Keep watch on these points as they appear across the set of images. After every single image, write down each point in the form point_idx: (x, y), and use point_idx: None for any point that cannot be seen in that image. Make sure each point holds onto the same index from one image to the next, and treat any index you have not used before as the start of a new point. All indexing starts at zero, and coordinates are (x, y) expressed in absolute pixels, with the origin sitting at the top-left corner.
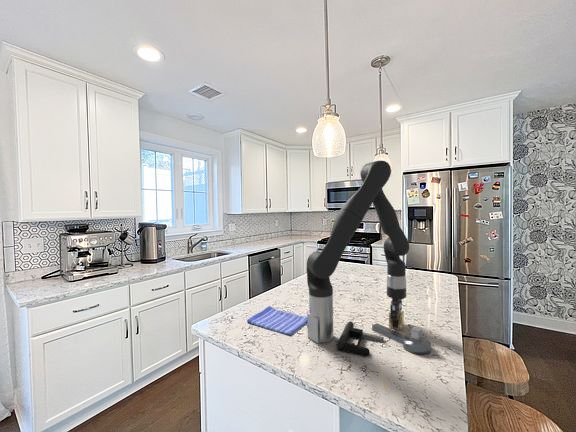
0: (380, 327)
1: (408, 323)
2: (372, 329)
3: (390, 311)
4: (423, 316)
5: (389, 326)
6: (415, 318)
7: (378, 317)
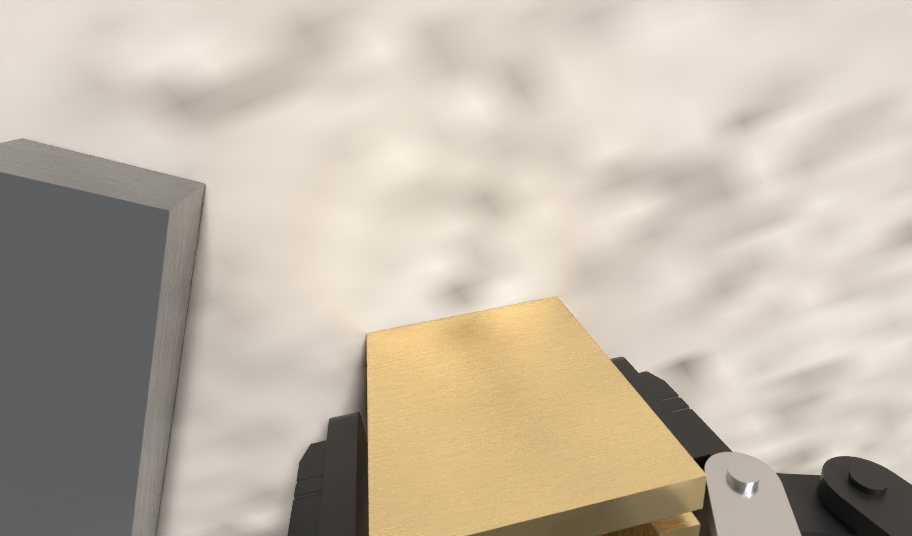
0: (21, 348)
1: None
2: (13, 148)
3: (552, 519)
4: None
5: (369, 351)
6: (829, 453)
7: (694, 24)
